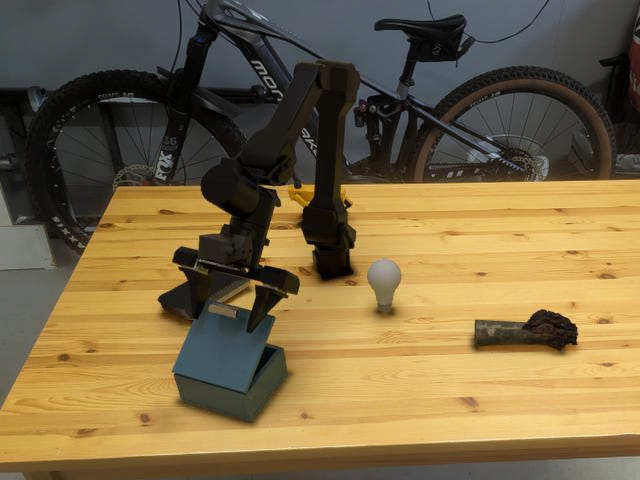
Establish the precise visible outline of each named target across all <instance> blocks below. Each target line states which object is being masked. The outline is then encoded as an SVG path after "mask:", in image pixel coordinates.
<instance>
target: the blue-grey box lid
mask: <svg viewBox="0 0 640 480" xmlns="http://www.w3.org/2000/svg"><path fill="white" fill-rule="evenodd" d="M251 310H252V309H249V308H246V307H240V306H236V305H232V304H228V303H224V302H222V303H221V302H217V301H212V300H208V299H207V300H206V303H205V305H204V308H203V311H202V313H201V315H200V317H199V319H198V320H196V319H193V320H192V323H191V325H190V326H189V327H190V328H189V330H188V332H187V334H186V337H185V339H184V340H183V344H182V346H181V348H180V350H179V353H178V354H177V357H176V360H175V362H174V365H173V366H172V369H171V373H173V374H179V375H182V376H186V377H189V378H193V379H196V380H200V381H204V382H207V383H211V384H214V385H218V386H221V387H225V388H228V389H232V390H235V391H239V392H242V393H247V391H248V388H249V386H250V383H251V381H252V378H253V375H254V373H255V370H256V368H257V365H258V363H259V360H260V358H261V355H262V353H263V350H264V348H265V345H266V343H267V342H268V340H269V338H270V335H271V332H272V330H273V327H274V325H275V322H276V320H277V317H276V316H275V315H272V314H269V313H268V314H267V315H266V316H265V317H264V319H263V320H262V321H261V322H260V324H259V325H258V326H257V327H256V329H255V330H254V331H253V332H252V333H251V334H250V333H247V332H246V329H247V323H248V320H249V316H250V313H251Z"/></svg>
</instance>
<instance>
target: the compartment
mask: <svg viewBox="0 0 640 480" xmlns="http://www.w3.org/2000/svg"><path fill="white" fill-rule="evenodd" d="M288 374H289V372H288V365H287V360H286V352H285V347H282V346H279V345H275V344H272V343H267V342H266V345H265V348H264V350H263V353H262V355H261V358H260V360H259V363H258V365H257V368H256V370H255V373H254V375H253V378H252V381H251V383H250V386H249V388H248V391H247V393H242V392H239V391H235V390H232V389H228V388H225V387H221V386H218V385H214V384H211V383H207V382H204V381H200V380H196V379H193V378H189V377H186V376H182V375H179V374H175V373H173V379H174V382H175V385H176V388H177V391H178V395H179V397H180V401H181V402H182V403H185V404H189V405H191V406H196V407H199V408H202V409H206V410H209V411H213V412H215V413H219V414H223V415H226V416H229V417H233V418H236V419H238V420H243V421H247V422H250V423H253V421H254V420H255V418H256V417H257V416H258V414H260V412H261V410H262V409H263V408H264V406H265V405H266V403H268V401H269V400H270V399H271V397H272V396H273V394H274V393H275V392H276V390H278V388H279V387H280V385H281V384H282V382H283V381H284V380H285V379H286V377H287V376H288Z"/></svg>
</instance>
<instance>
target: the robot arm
mask: <svg viewBox="0 0 640 480" xmlns="http://www.w3.org/2000/svg"><path fill="white" fill-rule="evenodd" d="M360 87H361V74H360V72H359V71H358V70H357V68H356V66H355V64H354V63H352V62H347V61H340V60H333V59H332V60H331V59H326V58H325V59H324V58H319V59H317V60H316V61H314V62H311V61H301V62H296V64H295V65H294V68H293V73H292V78H291V80H290V82H289V84H288V85H287V88H286V90H284V93H283V94H282V97H281V99H280V100H279V103H277V106H276V108H275V110H274V112H273V113H272V116H271V118H270V119H269V121H268V123H267V124H266V126H265V127H263V128H261V129H260V130H258V131H256V132H254V133H253V134H251V136H250V137H249V138H248V140H247V141H246V143H244V145H242V148H241V150H240V151H239V152H238V153H237V154H236V155H235V156H234V157H227V156H221V158H220V160H219V163H218V164H216V165H215V164H214V165H213V166H211V167H210V168H209V169H208V170H207V171H206V172H205V174H204V175H203V176H202V177H201V181H200V193H201V195H202V196H203V198H204V200H206V201H207V202H208V203H210V204H211V205H213V206H215V207H216V208H218V209H220V210H222V211H223V212H225V214H228V215H230V219H229V223H228V224H227V223H223V225H222V226H221V228H220V231H219V233H206V234H205V233H204V234H199V235H198V247H197V249H195V248H191V247H187V246H183V245H180V246H179V247H178V248H177V249H176V250H175V251H174V252H173V256H172V259H171V263H173V264H175V265H178V266H177V267H178V271H180V272H182V273H183V274H184V276H185V278H186V281H188V284H189V289H190V298H191V310H192V318H193V320H194V319H196V320H198V319H199V317H200V315H201V313H202V311H203V308H204V305H205V303H206V300H207V297H208V295H209V292H210V289H211V287H212V284H213V281H214V278H213V277H210V276H208V275H207V274H209V275H210V274H211V273H213V272H214V271H216V272H221V273H225V274H229V275H233V276H238V277H242V278H246V279H250V281H254V282H259V283H261V284H262V285H259V284H255V283H254V294H255V298H254V301H253V303H252V307H251V309H250V310H251V313H250V316H249V320H248V323H247V329H246V332H247V333H250V334H251V333H252V332H253V331H254V330H255V329H256V327H257V326H258V325H259V324H260V322H261V321H262V320H263V319H264V317H265V316H266V315H267V314H269V313H270V312H271V311H272V310H273V309H274V308H275V307H276V306H277V305H278V304H279V303H280V302H281V301H282V300H283V299H286V300H287V299H288V300H289V295H288V294H290V295H295V296H298V294H299V291H300V287H301V280H300V277H299V276H298V275H297V274H295V273H293V272H291V271H289V270H288V269H285V268H280V267H276V266H271V265H267V264H264V265H262V264H261V263H260V262H261V259H262V255H263V251H264V247H269V246H270V242H271V240H270V239H269V238H268V237H267V236H268V234H269V229H270V226H271V221H272V218H273V215H274V210H275V208H281V207H282V200H281V198H280V197H279V195H278V191H277V190H276V188H275V187H283V186H284V187H285V186H286V185H287V184H288V183H289V181H291V179H292V175H293V172H294V171H295V167H296V164H297V162H298V161H297V160H298V158H297V154H296V145H297V142H298V141H299V139H300V136H301V134H302V133H303V131H304V128H305V126H306V124H307V122H308V121H309V118H310V116H311V115H312V112H313V110H314V108H315V110H316V112H317V130H316V132H317V133H316V151H315V169H314V171H315V172H314V186H315V187H314V197H313V198H312V200H311V201H310V202H308V203H309V204H308V206H305V207H304V208H303V207H302V214H303V217H302V219H303V220H302V219H301V220H302V224H301V226H300V228H301V232H302V235H303V238H304V240H305V244H306V245H308V246H309V245H310V246H313V249H312V250H311V256H312V265H313V266H312V267H313V269H314V270H315V272H316V273H317V275H319V277H320V278H321V280H322V281H329V280H333V279H337V278H342V277H345V276H346V277H347V276H350V275H353V274H354V273H355V272H354V269H353V268H352V266H351V253H350V252H351V251H350V250H353V249H355V247H356V244H355V243H356V241H357V230H356V229H355V228H354V227H353V226H352V225H350V224H349V215H348V212H349V211H348V209H346V208H345V206H346V205H345V204H344V203H343V202H342V200H341V197H340V194H341V188H342V177H343V163H344V149H345V137H346V135H345V134H346V120H347V115H348V114H349V112H351V109H352V108H353V107H354V105H355V104H356V103H357V98H358V97H357V96H358V92H359V89H360ZM263 185H265V186H269V187H270V188H269V187H264V186H263ZM271 187H274V188H271ZM347 211H348V212H347ZM227 265H228V266H227ZM232 265H233V266H234V267H231V266H232ZM226 268H227V269H226ZM242 268H245V269H246V270H247V272H244V271H241V269H242ZM229 269H232V270H229Z"/></svg>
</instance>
